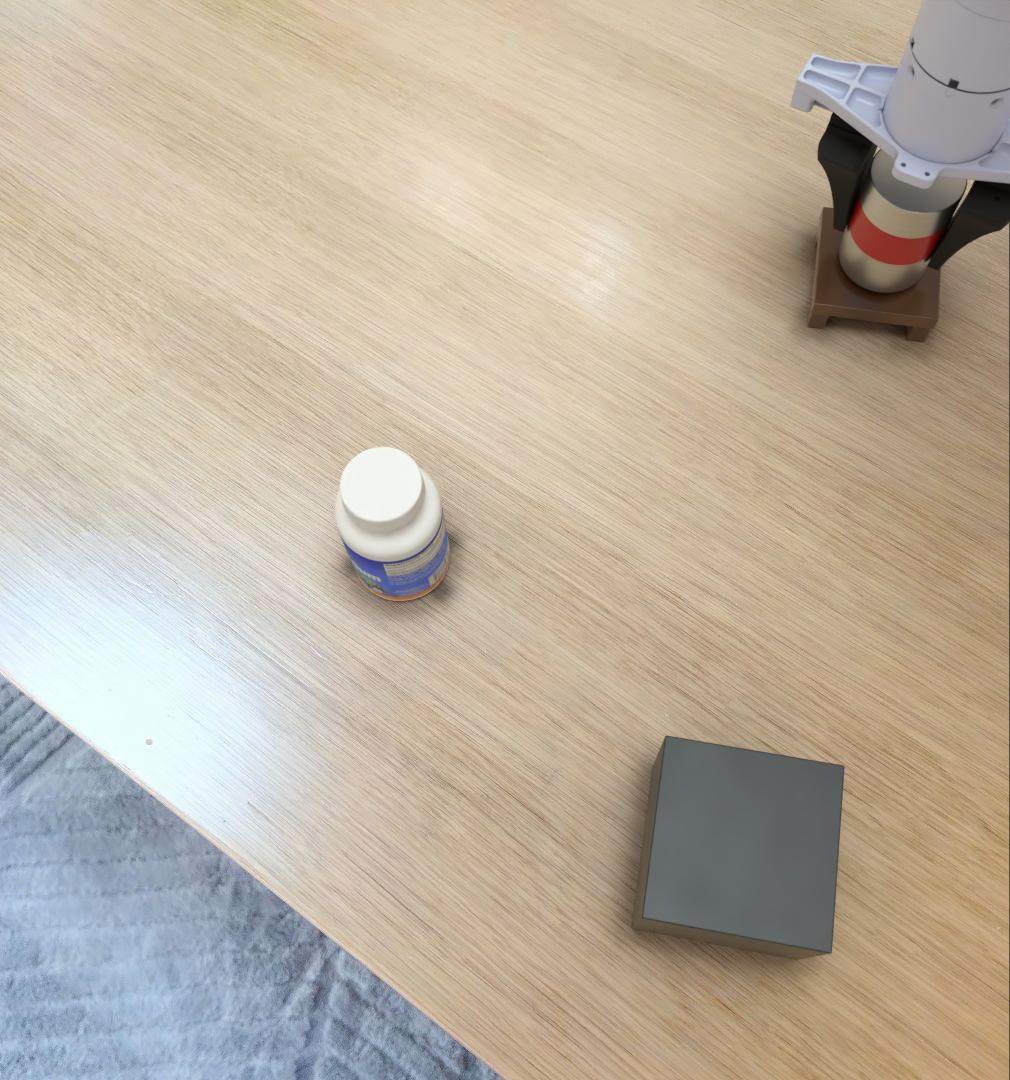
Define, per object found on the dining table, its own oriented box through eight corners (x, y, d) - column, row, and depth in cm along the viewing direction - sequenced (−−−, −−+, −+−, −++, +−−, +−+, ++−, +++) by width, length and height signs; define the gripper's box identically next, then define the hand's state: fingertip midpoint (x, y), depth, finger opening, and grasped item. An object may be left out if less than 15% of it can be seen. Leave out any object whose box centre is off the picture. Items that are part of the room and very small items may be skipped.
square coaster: (811, 792, 56) (845, 765, 50) (798, 960, 53) (832, 954, 47) (652, 765, 57) (665, 734, 51) (631, 928, 54) (641, 918, 48)
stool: (930, 246, 68) (943, 220, 66) (925, 343, 66) (938, 319, 64) (814, 232, 69) (823, 206, 67) (805, 328, 67) (814, 303, 64)
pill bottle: (339, 539, 63) (303, 461, 54) (426, 497, 63) (405, 414, 54) (380, 621, 61) (350, 554, 52) (469, 577, 61) (455, 504, 52)
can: (939, 241, 65) (982, 157, 59) (907, 306, 63) (947, 227, 57) (858, 209, 66) (891, 123, 60) (824, 272, 65) (854, 191, 58)
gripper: (789, 50, 51) (742, 238, 63) (1105, 167, 48) (990, 341, 60) (849, -51, 53) (793, 151, 66) (1155, 55, 50) (1034, 245, 62)
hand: (890, 236), depth 63 cm, fingers closed on can, 5 cm apart
